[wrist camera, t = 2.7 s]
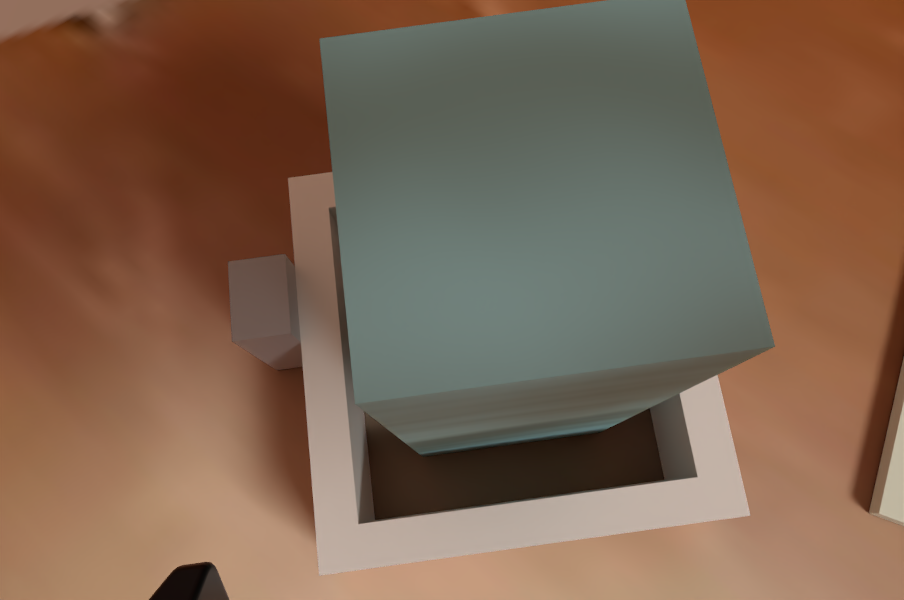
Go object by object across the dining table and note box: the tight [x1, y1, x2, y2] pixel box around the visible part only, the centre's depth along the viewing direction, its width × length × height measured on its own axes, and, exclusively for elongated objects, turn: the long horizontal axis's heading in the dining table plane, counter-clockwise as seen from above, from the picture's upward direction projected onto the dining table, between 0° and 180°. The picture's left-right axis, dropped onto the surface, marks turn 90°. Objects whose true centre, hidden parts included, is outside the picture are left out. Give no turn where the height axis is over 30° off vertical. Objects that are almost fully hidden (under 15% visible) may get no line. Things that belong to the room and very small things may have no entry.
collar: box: [228, 172, 750, 576], centre depth 19 cm, size 10×11×4 cm
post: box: [320, 0, 775, 457], centre depth 15 cm, size 5×5×12 cm
